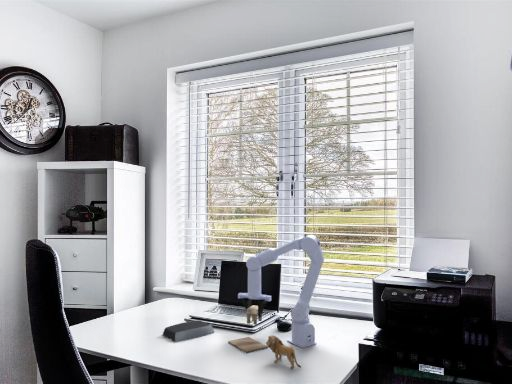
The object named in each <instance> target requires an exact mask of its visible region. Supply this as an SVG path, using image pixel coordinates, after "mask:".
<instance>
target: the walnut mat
mask: <svg viewBox="0 0 512 384" xmlns="http://www.w3.org/2000/svg"><path fill="white" fill-rule="evenodd" d="M227 343H228V344H229V345H231V344H232V346H233V347H235V348H237V349H238V348H239V350H240V351H242V352H243V353H245V352H246V354H248V353H252V352H253V353H254V352H257V350H258V351H261V349H262V350H265V348H266V349H268V348H269V347H267V345H266V344H265V343H262V342H259V340H256V339H254V338H252V337H251V336H245V337H241V338H237V339H233V340H228V342H227Z"/></svg>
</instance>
